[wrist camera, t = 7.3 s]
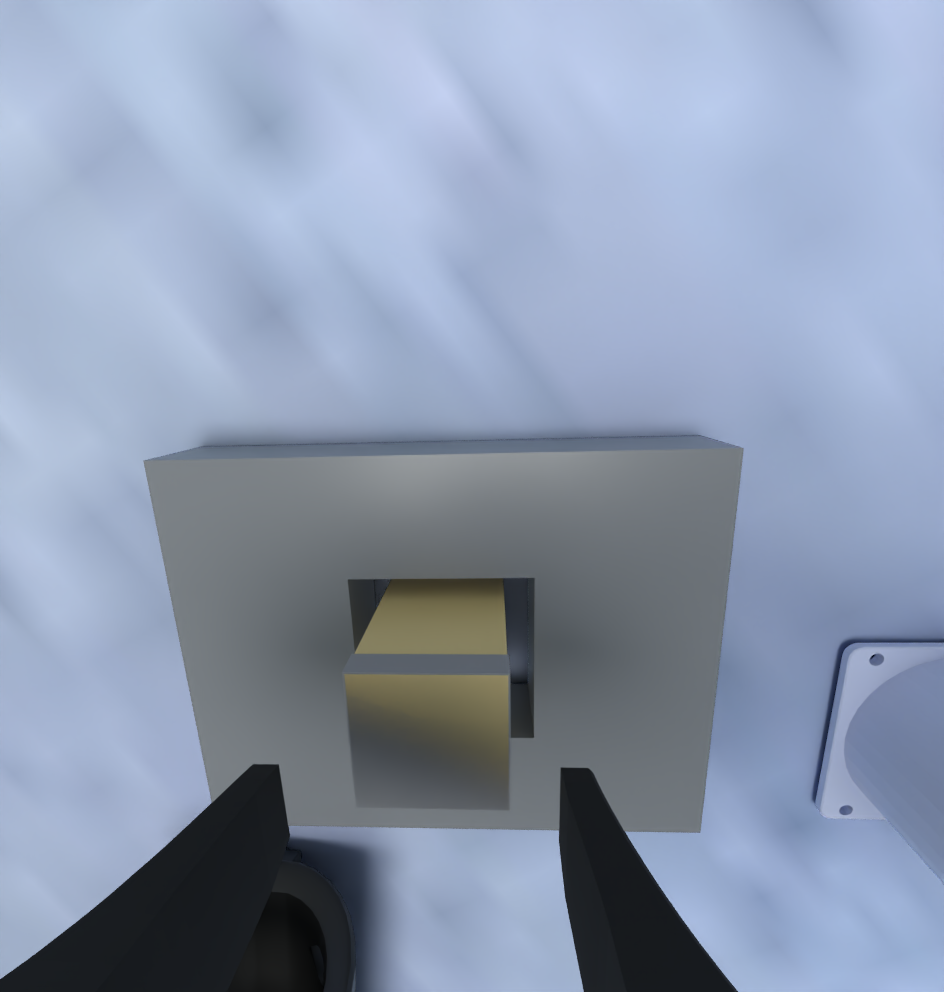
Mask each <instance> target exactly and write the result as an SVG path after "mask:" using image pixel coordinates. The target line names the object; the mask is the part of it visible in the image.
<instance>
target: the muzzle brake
mask: <svg viewBox="0 0 944 992" xmlns="http://www.w3.org/2000/svg"><path fill="white" fill-rule="evenodd" d="M355 985H356V960H355V937H354V932H353V927H352V921H351V916H350V914H349V911H348V909H347V907H346V905H345V902H344V900H343V898H342V896H341V895H340V893H339V892H338V891H337V889H336V888H335V887H334V885H333V884H332V883H331V881H330V880H328V879H327V878H326V877H325V876H323V875H322V874H321V873H319V872H318V871H317V870H316V869H314V868H311V867H309V866H307V865H305V864H303V863H301V852H300V851H297V850H286V849H285V853H284V856H283V859H282V862H281V865H280V868H279V871H278V874H277V877H276V880H275V883H274V885H273V888H272V891H271V893H270V896H269V898H268V900H267V903H266V905H265V907H264V910H263V912H262V914H261V916H260V919H259V921H258V923H257V925H256V928H255V930H254V932H253V934H252V937H251V939H250V941H249V943H248V946H247V948H246V950H245V952H244V955H243V957H242V959H241V961H240V963H239V966H238V968H237V970H236V972H235V975H234V977H233V979H232V981H231V984H230V986H229V988H228V990H227V992H355Z"/></svg>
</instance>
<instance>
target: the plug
mask: <svg viewBox="0 0 944 992" xmlns="http://www.w3.org/2000/svg"><path fill="white" fill-rule="evenodd" d="M342 677H343V687H344V697H345V707H346V717H347V727H348V737H349V746H350V756H351V766H352V776H353V786H354V796H355V805H356V808H375V809H426V810H476V811H511V707H510V658H509V655H507V640H506V621H505V602H504V583H503V578H462V579H391V581H390V583H389V585H388V587H387V589H386V591H385V593H384V595H383V597H382V599H381V601H380V603H379V605H378V607H377V609H376V611H375V613H374V615H373V617H372V619H371V621H370V623H369V625H368V627H367V629H366V631H365V633H364V635H363V637H362V639H361V641H360V643H359V645H358V647H357V649H356V652H355V654H351V656H350V658H349V660H348V662H347V664H346V666H345V667H344V669H343V671H342Z"/></svg>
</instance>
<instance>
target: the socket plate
mask: <svg viewBox="0 0 944 992" xmlns="http://www.w3.org/2000/svg"><path fill="white" fill-rule="evenodd" d="M743 449H744V448H742V447H738V446H735V445H731V444H728V443H724V442H721V441H717V440H714V439H710V438H707V437H703V436H700V435H698V436H653V437H609V438H564V439H520V440H475V441H430V442H386V443H341V444H297V445H252V446H207V447H198V448H194V449H190V450H186V451H181V452H177V453H173V454H169V455H165V456H161V457H157V458H153V459H149V460H144V466H145V471H146V476H147V481H148V486H149V491H150V496H151V501H152V506H153V511H154V516H155V521H156V526H157V531H158V536H159V541H160V546H161V551H162V556H163V561H164V566H165V571H166V576H167V581H168V586H169V591H170V596H171V601H172V606H173V611H174V616H175V621H176V626H177V631H178V636H179V641H180V646H181V651H182V656H183V661H184V666H185V671H186V676H187V681H188V686H189V691H190V696H191V701H192V706H193V711H194V716H195V721H196V726H197V730H198V735H199V740H200V745H201V750H202V755H203V760H204V765H205V770H206V775H207V780H208V785H209V790H210V795H211V800H212V802H213V801H214V800H215V799H216V798H218V797H219V796H220V795H221V794H222V793H223V792H224V791H225V790H226V789H227V788H228V787H229V786H230V785H231V784H232V783H233V782H234V781H235V780H236V779H238V778H239V777H240V776H241V775H242V774H243V773H244V772H245V771H246V770H247V769H248V768H249V767H250V766H251V765H253V764H279V769H280V775H281V782H282V788H283V795H284V801H285V808H286V814H287V821H288V826H341V827H399V828H456V829H514V830H559V818H560V771H561V767H562V768H589V769H590V770H591V771H592V772H593V773H594V775H595V778H596V780H597V782H598V784H599V786H600V788H601V790H602V792H603V794H604V796H605V798H606V799H607V801H608V803H609V805H610V807H611V809H612V810H613V812H614V814H615V816H616V817H617V819H618V821H619V823H620V825H621V826H622V828H623V830H624V831H629V832H687V833H700V830H701V821H702V812H703V803H704V794H705V785H706V777H707V768H708V759H709V750H710V741H711V732H712V723H713V715H714V706H715V697H716V688H717V679H718V670H719V661H720V652H721V644H722V635H723V626H724V617H725V608H726V599H727V590H728V582H729V573H730V564H731V555H732V546H733V537H734V528H735V519H736V511H737V502H738V493H739V484H740V475H741V466H742V457H743ZM462 578H528V684H510V707H511V811H476V810H426V809H375V808H356V805H355V796H354V786H353V776H352V766H351V756H350V746H349V737H348V727H347V717H346V707H345V697H344V687H343V677H342V671H343V669H344V667H345V666H346V664H347V662H348V660H349V658H350V656H351V654H355V652H356V649H357V647H358V645H359V643H360V641H361V639H362V637H363V635H364V633H365V631H366V629H367V627H368V625H369V623H370V621H371V619H372V617H373V615H374V613H375V611H376V602H375V590H374V579H462Z"/></svg>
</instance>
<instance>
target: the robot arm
mask: <svg viewBox="0 0 944 992" xmlns="http://www.w3.org/2000/svg"><path fill="white" fill-rule="evenodd" d="M874 654H876V655H875V657H873V658H872V659H870V658H871V656H872V655H874ZM815 805H816V808H817V809H818V810H819V812H820V813H821V814H822V816H824V817H825V818H830V819H874V820H887V821H888V822H889V823H890V824H891V825H892V826H893V828H894V829H895V830H896V831H897V832H898V833H899V834H900V835H901V837H902V838H903V839H904V840H905V841H906V842H907V843H908V845H909V846H910V847H911V848H912V849H913V850H914V851H915V852H916V854H917V855H918V856H919V857H920V858H921V859H922V860H923V861H924V863H925V864H926V865H927V866H928V867H929V868H930V869H931V870H932V872H933V873H934V874H935V875H936V876H937V877H938V878H939V879H940V881H941V882H942V883H943V884H944V643H854V644H851V645H849V646H848V647H847V648H846V649H845V650H844V652H843V655H842V660H841V666H840V671H839V677H838V682H837V687H836V693H835V698H834V704H833V709H832V715H831V720H830V725H829V731H828V736H827V742H826V747H825V753H824V758H823V763H822V769H821V774H820V780H819V785H818V791H817V796H816V802H815ZM289 837H290V834H289V827H288V821H287V814H286V808H285V801H284V795H283V788H282V782H281V775H280V769H279V764H253V765H251V766H250V767H249V768H248V769H247V770H246V771H245V772H244V773H243V774H242V775H241V776H240V777H239V778H238V779H236V780H235V781H234V782H233V783H232V784H231V785H230V786H229V787H228V788H227V789H226V790H225V791H224V792H223V793H222V794H221V795H220V796H219V797H218V798H216V799H215V800H214V801H213V802H212V803H211V804H210V805H209V806H208V807H207V808H206V809H205V810H204V811H203V812H202V813H201V814H200V815H199V816H198V817H196V818H195V819H194V820H193V821H192V822H191V823H190V824H189V825H188V826H187V827H186V828H185V829H184V830H182V831H181V832H180V833H179V834H178V835H177V836H176V837H175V838H174V839H173V840H172V841H171V842H170V843H168V844H167V845H166V846H165V847H164V848H163V849H162V850H161V851H160V852H159V853H157V854H156V855H155V856H154V857H153V858H152V859H151V860H149V861H148V862H147V863H146V864H145V865H144V866H143V867H141V868H140V869H139V870H138V871H137V872H136V873H135V874H133V875H132V876H131V877H130V878H129V879H128V880H126V881H125V882H124V883H123V884H122V885H121V886H120V887H118V888H117V889H116V890H115V891H114V892H113V893H112V894H110V895H109V896H108V897H107V898H106V899H104V900H103V901H102V902H101V903H100V904H98V905H97V906H96V907H95V908H94V909H92V910H91V911H90V912H89V913H87V914H86V915H85V916H84V917H82V918H81V919H80V920H79V921H77V922H76V923H75V924H74V925H72V926H71V927H70V928H68V929H67V930H66V931H65V932H63V933H62V934H61V935H59V936H58V937H57V938H56V939H54V940H53V941H52V942H50V943H49V944H48V945H46V946H45V947H44V948H43V949H41V950H40V951H39V952H37V953H36V954H35V955H33V956H32V957H31V958H29V959H28V960H27V961H25V962H24V963H22V964H21V965H20V966H18V967H17V968H15V969H14V970H13V971H11V972H10V973H8V974H7V975H6V976H4V977H3V978H1V979H0V992H227V990H228V988H229V986H230V984H231V981H232V979H233V977H234V975H235V972H236V970H237V968H238V966H239V963H240V961H241V959H242V957H243V955H244V952H245V950H246V948H247V946H248V943H249V941H250V939H251V937H252V934H253V932H254V930H255V928H256V925H257V923H258V921H259V919H260V916H261V914H262V912H263V910H264V907H265V905H266V903H267V900H268V898H269V896H270V893H271V891H272V888H273V885H274V883H275V880H276V877H277V874H278V871H279V868H280V865H281V862H282V859H283V856H284V853H285V849H286V846H287V843H288V840H289ZM559 845H560V855H561V864H562V873H563V881H564V890H565V898H566V903H567V909H568V914H569V919H570V924H571V929H572V934H573V939H574V944H575V949H576V954H577V959H578V964H579V969H580V974H581V979H582V984H583V989H584V992H738V991H737V990H736V989H735V988H734V986H733V985H732V984H731V983H730V981H729V980H728V979H727V978H726V976H725V975H724V974H723V973H722V971H721V970H720V969H719V968H718V966H717V965H716V964H715V962H714V961H713V960H712V959H711V957H710V956H709V955H708V953H707V952H706V951H705V949H704V948H703V947H702V946H701V944H700V943H699V942H698V940H697V939H696V938H695V936H694V935H693V933H692V932H691V931H690V929H689V928H688V927H687V925H686V924H685V922H684V921H683V920H682V918H681V917H680V916H679V914H678V913H677V911H676V910H675V908H674V907H673V906H672V904H671V903H670V901H669V900H668V898H667V897H666V895H665V894H664V893H663V891H662V890H661V888H660V887H659V885H658V884H657V882H656V881H655V879H654V878H653V876H652V875H651V873H650V872H649V870H648V868H647V867H646V865H645V864H644V862H643V860H642V859H641V857H640V856H639V854H638V853H637V851H636V849H635V848H634V846H633V845H632V843H631V841H630V840H629V838H628V836H627V835H626V833H625V831H624V830H623V828H622V826H621V825H620V823H619V821H618V819H617V817H616V816H615V814H614V812H613V810H612V809H611V807H610V805H609V803H608V801H607V799H606V798H605V796H604V794H603V792H602V790H601V788H600V786H599V784H598V782H597V780H596V778H595V775H594V773H593V772H592V771H591V770H590V769H589V768H562V767H561V771H560V818H559Z"/></svg>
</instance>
